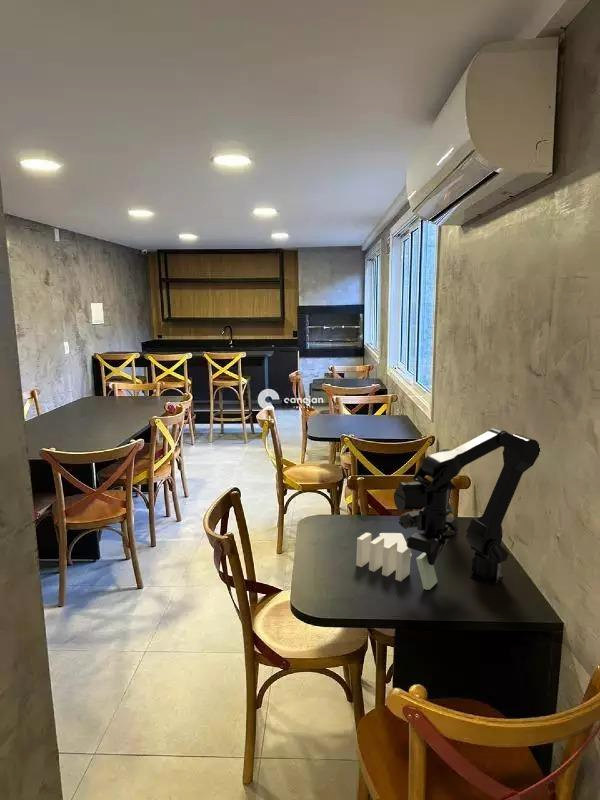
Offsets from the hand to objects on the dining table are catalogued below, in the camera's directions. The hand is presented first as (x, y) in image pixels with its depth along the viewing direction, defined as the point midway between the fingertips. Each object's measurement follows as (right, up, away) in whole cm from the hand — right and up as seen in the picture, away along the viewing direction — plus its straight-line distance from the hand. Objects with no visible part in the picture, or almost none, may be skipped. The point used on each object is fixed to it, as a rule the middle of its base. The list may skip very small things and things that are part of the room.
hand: (431, 564), depth 135 cm
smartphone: (-5, -2, +25) cm, 25 cm away
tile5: (-16, -4, +13) cm, 21 cm away
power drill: (+12, 0, +35) cm, 36 cm away
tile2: (-6, -5, +6) cm, 10 cm away
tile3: (-9, -5, +8) cm, 13 cm away
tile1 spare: (0, -6, +1) cm, 6 cm away
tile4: (-13, -4, +11) cm, 17 cm away
